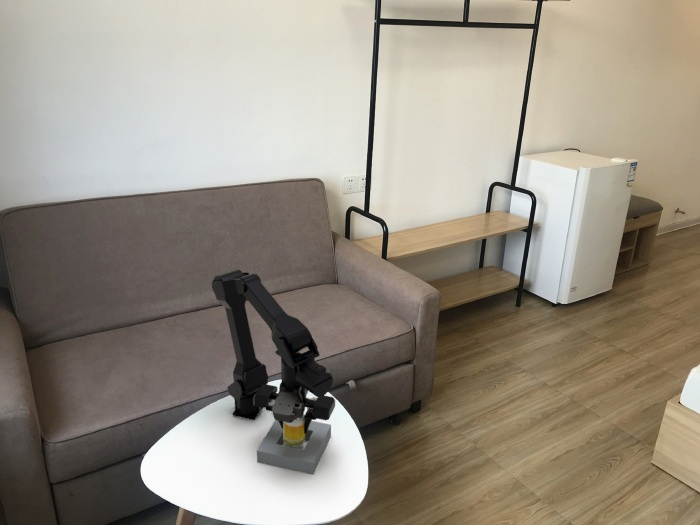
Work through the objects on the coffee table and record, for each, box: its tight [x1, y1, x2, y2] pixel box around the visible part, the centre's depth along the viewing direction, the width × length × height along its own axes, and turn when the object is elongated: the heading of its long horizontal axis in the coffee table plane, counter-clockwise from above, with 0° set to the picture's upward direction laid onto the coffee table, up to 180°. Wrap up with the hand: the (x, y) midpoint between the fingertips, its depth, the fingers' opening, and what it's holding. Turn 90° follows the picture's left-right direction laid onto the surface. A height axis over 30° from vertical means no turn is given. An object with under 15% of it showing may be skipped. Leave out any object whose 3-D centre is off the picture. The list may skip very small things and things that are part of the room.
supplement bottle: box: [283, 412, 306, 448], centre depth 139 cm, size 5×5×10 cm
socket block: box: [256, 419, 332, 476], centre depth 141 cm, size 14×14×4 cm
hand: (294, 430), depth 139 cm, fingers closed on supplement bottle, 5 cm apart
